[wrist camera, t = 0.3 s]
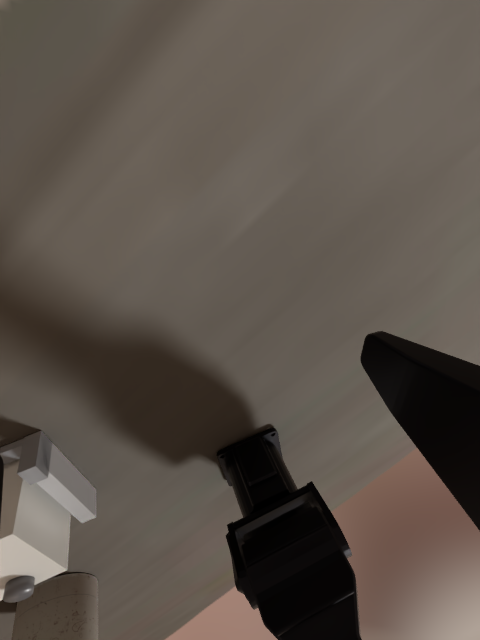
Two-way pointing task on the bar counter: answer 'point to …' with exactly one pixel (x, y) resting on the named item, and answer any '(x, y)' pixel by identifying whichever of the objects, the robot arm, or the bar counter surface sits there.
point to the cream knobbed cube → (30, 536)
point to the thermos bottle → (59, 610)
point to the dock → (52, 474)
